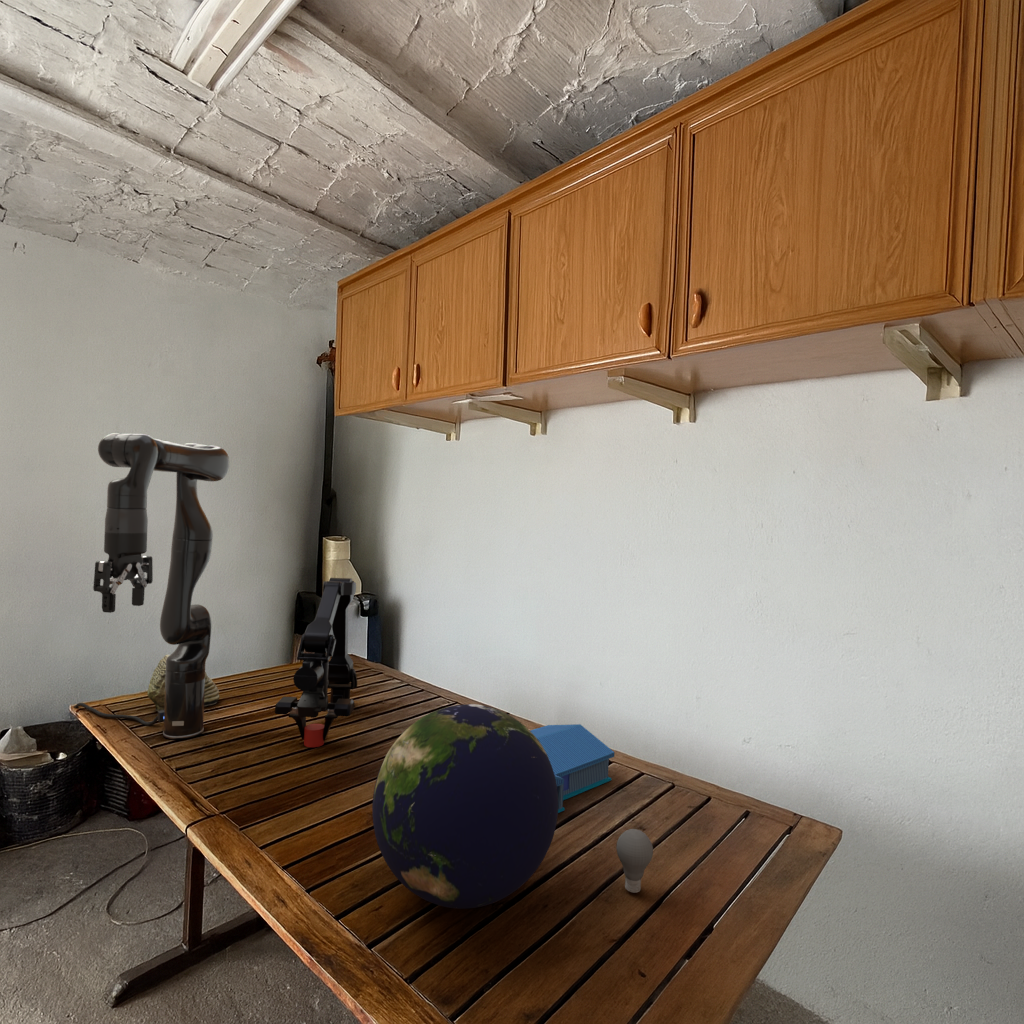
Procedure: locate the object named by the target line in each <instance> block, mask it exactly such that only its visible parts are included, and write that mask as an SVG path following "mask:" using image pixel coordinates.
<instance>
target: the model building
mask: <svg viewBox="0 0 1024 1024" xmlns="http://www.w3.org/2000/svg"><path fill="white" fill-rule="evenodd" d="M529 730H530V732H531V733H532V734H533V735H534V736H535V737H536V738H537V739H538V741H539V742H540V743H541V745H542V747H543V748H544V750H545V752H546V753H547V756H548V758H549V761H550V763H551V765H552V768H553V772H554V775H555V779H556V784H557V791H558V814H559V813H562V812H564V811H565V810H566V809H565V807H564V805H563V804H564V801H565V800H568V799H570V798H572V797H575V796H577V795H580V794H582V793H585V792H587V791H589V790H591V789H594V788H597V787H599V786H601V785H603V784H606V783H609V782H610V781H612V779H613V778H612V777H610V776H609V766H610V765H609V763H610V759H612V758H614V757H615V751H613V750H612V749H611V748H610V747H609V746H608V745H606V744H605V743H604V742H603V741H601V740H600V738H598V737H597V736H595V735H594V734H593V733H592V732H591V731H589V730H588V729H587V728H586V727H584V726H583V725H582V724H580V723H578V724H576V723H575V724H548V725H547V724H546V725H544V726H541V727H537V728H533V729H529Z"/></svg>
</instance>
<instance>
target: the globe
mask: <svg viewBox="0 0 1024 1024" xmlns="http://www.w3.org/2000/svg"><path fill="white" fill-rule="evenodd" d="M530 730H531V729H529V728H527V726H525V725H524V724H523V723H522V722H520V721H519V720H518V719H516V718H515V717H514V716H512V715H510V714H509V713H506V712H504V711H502V710H499V709H497V708H494V707H491V706H487V705H482V704H478V703H477V704H475V703H468V704H467V703H466V704H465V703H464V704H455V705H450V706H449V705H448V706H445V707H442V708H439V709H437V710H434V711H432V712H429V713H428V714H425V715H424V716H422V717H420V719H417V720H416V721H415V722H413V723H412V724H411V725H410V726H408V727H407V728H406V729H405V730H404V731H403V732H402V734H401V735H400V736H398V737H397V738H396V740H395V741H394V742H393V744H392V745H391V747H390V748H389V749H388V751H387V753H386V755H385V757H384V760H383V761H382V763H381V765H380V768H379V771H378V774H377V776H376V781H375V784H374V789H373V796H372V804H371V805H372V807H371V809H372V824H373V829H374V836H375V839H376V843H377V846H378V849H379V852H380V853H381V856H382V858H383V860H384V861H385V863H386V865H387V866H388V868H389V871H391V873H392V874H393V875H394V876H395V878H396V879H397V880H398V881H399V882H400V883H401V884H402V885H403V886H404V887H405V888H406V889H407V890H409V891H410V892H411V893H413V895H415V896H417V897H419V898H421V899H422V900H425V901H426V902H429V903H431V904H434V905H437V906H440V907H444V908H448V909H457V910H465V909H466V910H467V909H469V910H470V909H477V908H481V907H486V906H489V905H492V904H494V903H497V902H499V901H502V900H504V899H505V898H508V896H510V895H512V894H513V893H515V892H516V891H518V890H519V889H520V888H521V887H523V885H524V884H526V883H527V882H528V880H530V879H531V878H532V877H533V875H534V874H535V873H536V871H537V870H538V869H539V867H540V866H541V865H542V862H543V861H544V859H545V857H546V855H547V854H548V851H549V849H550V847H551V844H552V842H553V839H554V836H555V832H556V829H557V828H556V827H557V822H558V816H559V813H558V791H557V784H556V779H555V775H554V772H553V768H552V765H551V763H550V761H549V758H548V756H547V753H546V752H545V750H544V748H543V747H542V745H541V743H540V742H539V741H538V739H537V738H536V737H535V736H534V735H533V734H532V733H531V732H530Z"/></svg>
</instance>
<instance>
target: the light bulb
mask: <svg viewBox="0 0 1024 1024" xmlns="http://www.w3.org/2000/svg"><path fill="white" fill-rule="evenodd" d="M615 849H616V854H617V857H618V859H619V861H620V863H621V865H622V867H623V873H624V874H623V875H624V876H625V878H624V888H625V890H627V891H628V892H630V893H634V894H635V893H639V892H640V891H641V889H642V887H641V886H642V879H643V877H644V875H645V871H646V868H647V867H648V866H649V864H650V863H651V861H652V859H653V855H654V847H653V843H652V841H651V838H649V836H648V835H647V834H646V833H645V832H643V831H642V830H641V829H636V828H629V829H627V830H625V831H623V832H622V833H621V834H620V835H619V837H618V839H617V841H616V847H615Z"/></svg>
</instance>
